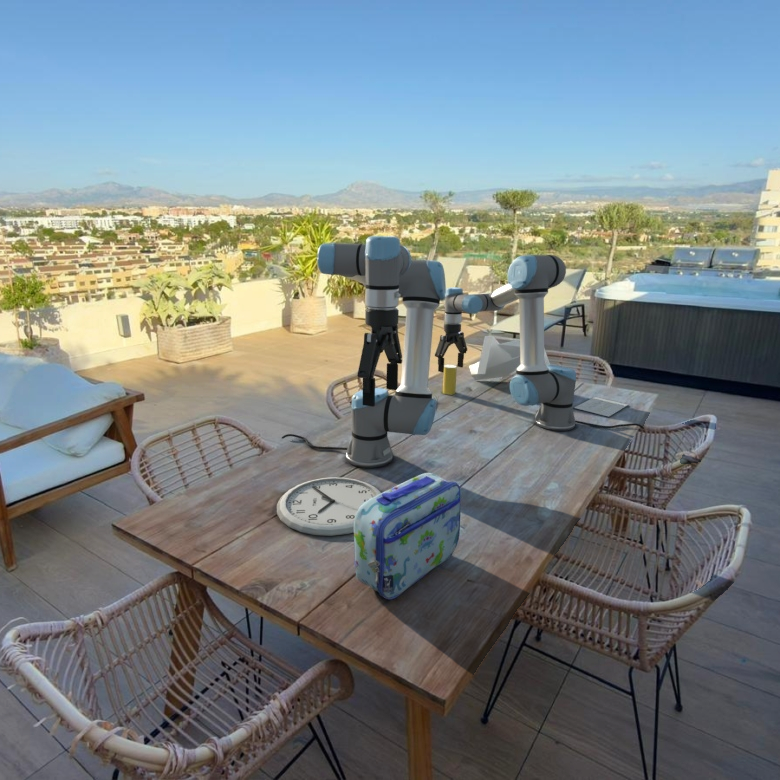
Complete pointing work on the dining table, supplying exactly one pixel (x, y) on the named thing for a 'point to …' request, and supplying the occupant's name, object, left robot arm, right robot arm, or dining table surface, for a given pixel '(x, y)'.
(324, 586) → the dining table surface
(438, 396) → the fork
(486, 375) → the white plastic object
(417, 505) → the lunch box
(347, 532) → the wall clock
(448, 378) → the can
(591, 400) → the invitation card
